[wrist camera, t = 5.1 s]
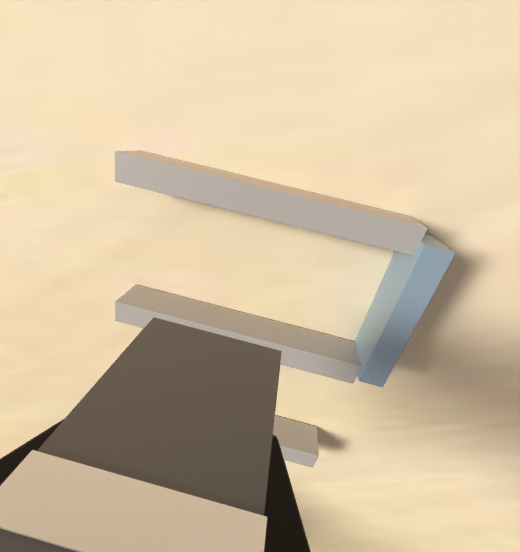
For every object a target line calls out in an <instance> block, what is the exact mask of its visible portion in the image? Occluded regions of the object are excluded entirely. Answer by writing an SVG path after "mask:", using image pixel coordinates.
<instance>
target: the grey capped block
mask: <svg viewBox="0 0 520 552" xmlns="http://www.w3.org/2000/svg"><path fill="white" fill-rule="evenodd" d="M281 352H282V351H280V350H276V349H272V348H268V347H265V346H261V345H257V344H253V343H250V342H246V341H242V340H238V339H234V338H231V337H227V336H223V335H219V334H216V333H212V332H208V331H204V330H200V329H197V328H193V327H189V326H185V325H182V324H178V323H174V322H170V321H166V320H163V319H159V318H155V317H153V319H152V320H151V321H150V322H149V323H148V324H147V325H146V327H145V328H144V329H143V330H142V331H141V332H140V333H139V335H138V336H137V337H136V338H135V339H134V340H133V341H132V343H131V344H130V345H129V346H128V347H127V348H126V349H125V351H124V352H123V353H122V354H121V355H120V356H119V357H118V359H117V360H116V361H115V362H114V363H113V364H112V365H111V367H110V368H109V369H108V370H107V371H106V372H105V373H104V375H103V376H102V377H101V378H100V379H99V380H98V382H97V383H96V384H95V385H94V386H93V387H92V388H91V390H90V391H89V392H88V393H87V394H86V395H85V396H84V398H83V399H82V400H81V401H80V402H79V403H78V404H77V406H76V407H75V408H74V409H73V410H72V411H71V412H70V414H69V415H68V416H67V417H66V418H65V419H64V420H63V422H62V423H61V424H60V425H59V426H58V427H57V428H56V430H55V431H54V432H53V433H52V434H51V435H50V436H49V438H48V439H47V440H46V441H45V442H44V443H43V444H42V446H41V447H40V448H39V449H38V450H37V451H35V450H32V451H31V452H30V453H29V454H28V455H27V456H26V458H25V459H24V460H23V461H22V462H21V463H20V464H19V465H18V467H17V468H16V469H15V470H14V471H13V472H12V473H11V474H10V475H9V477H8V478H7V479H6V480H5V481H4V482H3V483H2V484H1V486H0V552H264V546H265V536H266V526H267V517H266V516H264V511H265V502H266V492H267V483H268V474H269V464H270V455H271V446H272V436H273V427H274V417H275V408H276V399H277V389H278V380H279V371H280V361H281Z"/></svg>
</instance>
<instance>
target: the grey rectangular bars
mask: <svg viewBox="0 0 520 552" xmlns="http://www.w3.org/2000/svg"><path fill="white" fill-rule="evenodd" d="M115 182H119V183H123V184H127V185H131V186H135V187H139V188H143V189H147V190H151V191H155V192H159V193H163V194H167V195H171V196H175V197H179V198H183V199H187V200H191V201H196V202H200V203H204V204H208V205H212V206H216V207H220V208H224V209H228V210H232V211H236V212H240V213H244V214H248V215H252V216H256V217H260V218H264V219H268V220H272V221H276V222H280V223H284V224H288V225H292V226H296V227H300V228H304V229H308V230H312V231H316V232H320V233H324V234H328V235H332V236H337V237H341V238H345V239H349V240H353V241H357V242H361V243H365V244H369V245H373V246H377V247H381V248H385V249H389V250H393V251H395V253H394V255H393V257H392V260H391V262H390V264H389V266H388V269H387V271H386V273H385V275H384V278H383V280H382V282H381V284H380V287H379V289H378V291H377V293H376V296H375V298H374V300H373V302H372V305H371V307H370V309H369V311H368V314H367V316H366V318H365V320H364V323H363V325H362V327H361V329H360V331H359V334H358V336H357V338H356V340H355V341H351V340H347V339H344V338H340V337H336V336H332V335H328V334H324V333H320V332H317V331H313V330H309V329H305V328H301V327H297V326H294V325H290V324H286V323H282V322H278V321H274V320H270V319H267V318H263V317H259V316H255V315H251V314H247V313H244V312H240V311H236V310H232V309H228V308H224V307H220V306H217V305H213V304H209V303H205V302H201V301H197V300H194V299H190V298H186V297H182V296H178V295H174V294H170V293H167V292H163V291H159V290H155V289H151V288H147V287H144V286H140V285H135V286H133V287H132V288H131V289H130V290H129V291H127V292H126V293H125V294H124V295H123V296H121V297H120V298H119V299H118V300H117V301H115V321H119V322H123V323H126V324H130V325H134V326H138V327H141V328H145V327H146V325H147V324H148V323H149V322H150V321H151V320H152V319H153V317H155V318H159V319H163V320H166V321H170V322H174V323H178V324H182V325H185V326H189V327H193V328H197V329H200V330H204V331H208V332H212V333H216V334H219V335H223V336H227V337H231V338H234V339H238V340H242V341H246V342H250V343H253V344H257V345H261V346H265V347H268V348H272V349H276V350H280V351H282V352H281V361H280V364H281V365H285V366H289V367H292V368H296V369H300V370H304V371H307V372H311V373H315V374H319V375H322V376H326V377H330V378H334V379H338V380H341V381H345V382H349V383H354V381H355V379H356V377H357V376H358V380H359V381H361V382H365V383H369V384H372V385H376V386H380V387H383V386H384V384H385V382H386V380H387V378H388V376H389V375H390V373H391V371H392V369H393V367H394V365H395V364H396V362H397V360H398V358H399V356H400V354H401V353H402V351H403V349H404V347H405V345H406V343H407V342H408V340H409V338H410V336H411V334H412V332H413V330H414V329H415V327H416V325H417V323H418V321H419V319H420V318H421V316H422V314H423V312H424V310H425V308H426V307H427V305H428V303H429V301H430V299H431V297H432V296H433V294H434V292H435V290H436V288H437V286H438V284H439V283H440V281H441V279H442V277H443V275H444V273H445V272H446V270H447V268H448V266H449V264H450V262H451V261H452V259H453V257H454V255H455V252H454V251H452V250H451V249H449V248H448V247H447V246H445V245H444V244H442V243H441V242H440V241H438V240H437V239H435V238H434V237H432V236H431V235H427V234H425V233H426V231H427V229H428V228H427V227H426V226H424V225H423V224H421V223H420V222H418V221H417V220H415V219H414V218H412V217H411V216H407V215H402V214H398V213H394V212H390V211H386V210H382V209H378V208H374V207H370V206H366V205H361V204H357V203H353V202H349V201H345V200H341V199H337V198H333V197H329V196H325V195H320V194H316V193H312V192H308V191H304V190H300V189H296V188H292V187H288V186H284V185H279V184H275V183H271V182H267V181H263V180H259V179H255V178H251V177H247V176H242V175H238V174H234V173H230V172H226V171H222V170H218V169H214V168H210V167H206V166H201V165H197V164H193V163H189V162H185V161H181V160H177V159H173V158H169V157H165V156H160V155H156V154H152V153H148V152H144V151H115ZM273 435H276V436H277V438H278V441H279V444H280V448H281V451H282V455H283V458H284V460H287V461H290V462H294V463H297V464H301V465H305V466H308V467H312V468H313V466H314V464H315V462H316V460H317V458H318V456H319V455H318V435H317V426H313V425H309V424H305V423H302V422H298V421H294V420H291V419H287V418H283V417H280V416H276V415H275V417H274V427H273Z"/></svg>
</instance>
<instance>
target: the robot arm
mask: <svg viewBox="0 0 520 552" xmlns="http://www.w3.org/2000/svg"><path fill="white" fill-rule="evenodd" d="M63 420H64V419H63ZM63 420H62V421H60V422H59V423H57V424H55V425H54V426H52V427H50V428H49V429H47V430H46V431H44V432H42V433H41V434H39V435H38V436H36V437H34V438H33V439H31V440H30V441H28V442H26V443H25V444H23V445H22V446H20V447H18V448H17V449H15V450H14V451H12V452H10V453H9V454H7V455H6V456H4V457H2V458H1V459H0V486H1V484H2V483H3V482H4V481H5V480H6V479H7V478H8V477H9V475H10V474H11V473H12V472H13V471H14V470H15V469H16V468H17V467H18V465H19V464H20V463H21V462H22V461H23V460H24V459H25V458H26V456H27V455H28V454H29V453H30V452H31V451H32V450H35V451H37V450H38V449H39V448H40V447H41V446H42V444H43V443H44V442H45V441H46V440H47V439H48V438H49V436H50V435H51V434H52V433H53V432H54V431H55V430H56V428H57V427H58V426H59V425H60V424H61V423H62V422H63ZM264 516H266V517H267V526H266V536H265V546H264V552H310V548H309V545H308V541H307V538H306V534H305V531H304V527H303V524H302V520H301V517H300V513H299V510H298V507H297V503H296V500H295V496H294V493H293V489H292V486H291V482H290V479H289V475H288V472H287V468H286V465H285V461H284V458H283V455H282V451H281V448H280V444H279V441H278V438H277V436H276V435H273V436H272V446H271V455H270V464H269V474H268V483H267V492H266V502H265V511H264Z"/></svg>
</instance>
